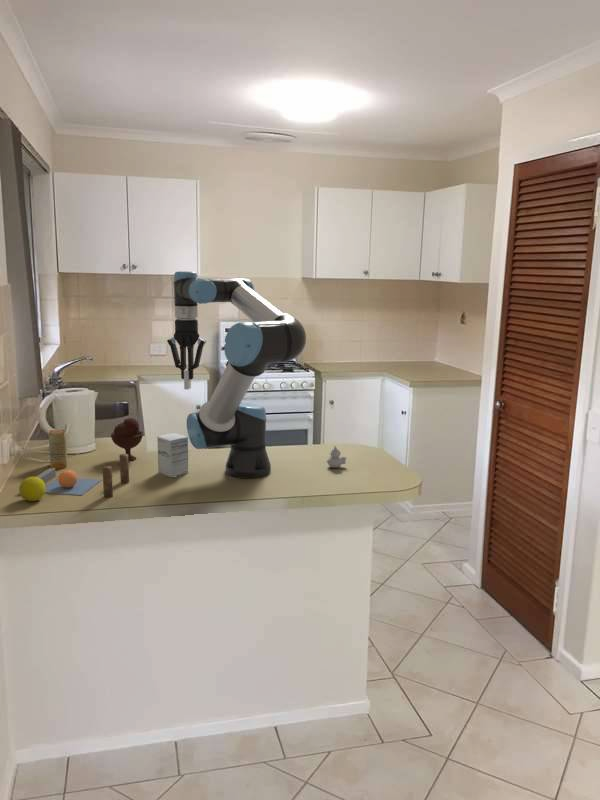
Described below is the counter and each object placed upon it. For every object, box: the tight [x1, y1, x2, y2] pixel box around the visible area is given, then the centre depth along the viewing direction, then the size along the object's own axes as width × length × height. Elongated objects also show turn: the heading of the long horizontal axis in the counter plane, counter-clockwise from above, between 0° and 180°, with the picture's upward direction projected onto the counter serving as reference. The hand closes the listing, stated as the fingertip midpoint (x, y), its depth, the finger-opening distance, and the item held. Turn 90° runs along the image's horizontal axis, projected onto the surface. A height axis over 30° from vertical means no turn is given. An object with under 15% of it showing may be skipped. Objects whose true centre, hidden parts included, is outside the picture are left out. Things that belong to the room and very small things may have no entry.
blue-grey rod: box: [35, 467, 57, 484], centre depth 203 cm, size 2×16×2 cm, turn 173°
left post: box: [102, 465, 114, 499], centre depth 193 cm, size 3×3×9 cm
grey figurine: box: [326, 445, 347, 469], centre depth 224 cm, size 5×7×8 cm
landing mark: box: [44, 477, 103, 496], centre depth 202 cm, size 14×14×1 cm
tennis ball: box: [18, 476, 46, 502], centre depth 189 cm, size 7×7×7 cm
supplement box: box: [156, 432, 189, 478], centre depth 215 cm, size 7×7×13 cm
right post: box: [119, 453, 130, 485], centre depth 205 cm, size 3×3×9 cm
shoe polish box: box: [48, 429, 68, 469], centre depth 220 cm, size 5×5×12 cm
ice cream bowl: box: [110, 417, 144, 462], centre depth 228 cm, size 11×11×15 cm
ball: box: [57, 469, 78, 488], centre depth 200 cm, size 6×6×6 cm
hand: (187, 388), depth 221 cm, fingers closed
